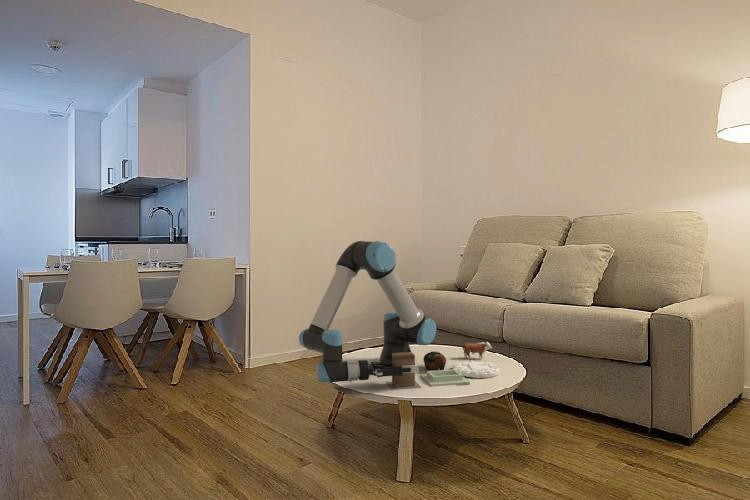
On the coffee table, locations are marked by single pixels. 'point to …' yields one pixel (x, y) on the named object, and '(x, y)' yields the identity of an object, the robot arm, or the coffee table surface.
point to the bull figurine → (475, 349)
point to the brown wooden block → (400, 361)
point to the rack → (444, 378)
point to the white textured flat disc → (477, 369)
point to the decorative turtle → (434, 361)
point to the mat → (403, 386)
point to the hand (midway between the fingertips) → (416, 366)
